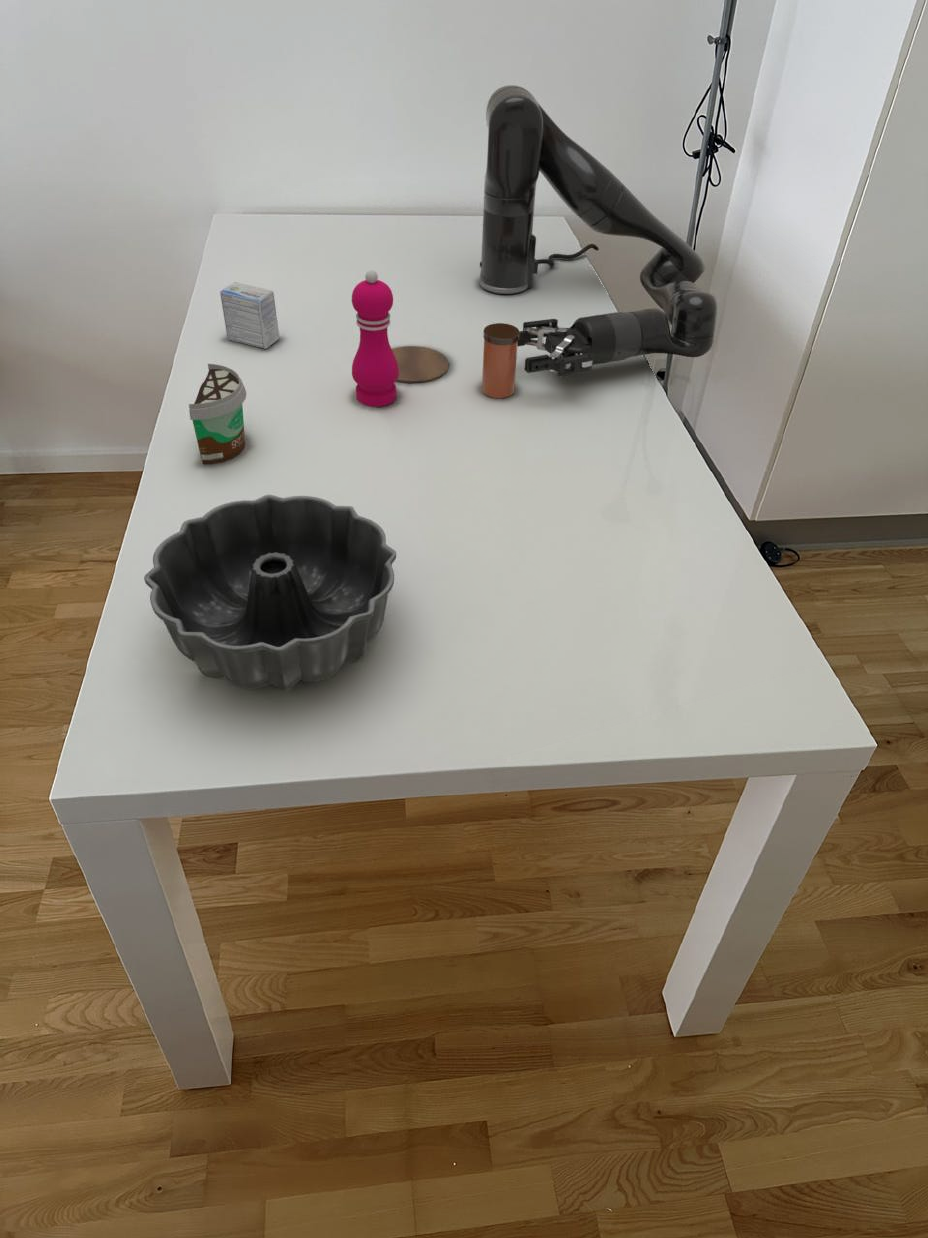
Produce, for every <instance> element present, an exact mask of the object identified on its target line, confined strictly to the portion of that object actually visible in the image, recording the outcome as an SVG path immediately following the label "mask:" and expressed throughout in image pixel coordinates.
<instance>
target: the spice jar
mask: <svg viewBox="0 0 928 1238" xmlns="http://www.w3.org/2000/svg"><path fill="white" fill-rule="evenodd" d="M519 331H520V330H519V328H518V327H516V326H515V325H513V324H509V323H502V322H497V323H491V324H488V325H486V326H485V327H484V329H483V333H482V337H483V353H482V355H483V356H482V372H481V373H482V375H481V392H482V393H483V395H485V396H487V397H489V398H493V399H506V398H509V397H511V396H513V394H514V393H515V388H516V387H515V385H516V373H517V372H516V371H517V361H518V347H519V346H518V340H519V333H520V332H519ZM517 346H518V347H517Z"/></svg>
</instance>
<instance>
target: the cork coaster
mask: <svg viewBox="0 0 928 1238" xmlns="http://www.w3.org/2000/svg"><path fill="white" fill-rule="evenodd" d="M391 349H392V351H393V353H394V355H395V357H396V360H397V363H398V368H399V376H398V379H397V380H396V382H399V383H403V384H404V383H406V384H420V383H428V382H431V381H434V380H438V379H440V378H442V377H443V376H444V375H445V374H446V373H447V372H448V370H449V368H450V362H449V359H448V358H447V356H445V354H443V353H442V352H440V351H437V350H435V349H433V348H430V347H424V346H415V345H409V346H408V345H407V346H399V347H394V348H391Z"/></svg>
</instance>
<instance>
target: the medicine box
mask: <svg viewBox="0 0 928 1238" xmlns="http://www.w3.org/2000/svg"><path fill="white" fill-rule="evenodd" d="M274 292H275V291H273V290H270V289H267V288H263V287H259V286H254V285H249V284H246V283H241V282H236V281H235V282H233V283H231V284H229V285H227V286H226V287H224V288H223V289H222V290H220V292H219V294H220V299H221V300H220V301H221V309H222V313H223V321H224V326H225V333H226V338H227V340H229V341H233V342H237V343H242V344H245V345H249V346H253V347H257V348H261V349H265V350H267V349H268V348H270V347H271V346H272V345H273V344H275V343H276V342H277V341H279V340H280V330H279V323H278V316H277V308H276V299H275V293H274Z"/></svg>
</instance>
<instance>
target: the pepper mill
mask: <svg viewBox="0 0 928 1238" xmlns="http://www.w3.org/2000/svg"><path fill="white" fill-rule="evenodd" d="M378 278H379V275H378V274H377V272H376V271H375V270H372V269H371V270H368V271H366V273H365V279H363V280H362V281H360V282H358V283H357V284H356V285H355V287H354V288H353V290H352V294H351V304H352V307H353V309H354V311H355V312H356V315H355V318H356V321H355V323H356V325H357V327H358V328H359V343H358V348H357V351H356V352H355V355H354V358H353V360H352V363H351V364H352V365H351V377H352V379H353V381H354V382H355V383H356V386H355V397H356V400H357V401H358V403H360V404H362V405H363V406H367V407H371V408H378V407H379V408H380V407H381V408H382V407H387V406H389V405H390V404H393V402H395V401H396V399H397V386H396V382H397V381H396V380H397V379H398V376H399V368H398V363H397V360H396V357H395V355H394V353H393V351H392V349H393V348H392V346H391V344H390V341H389V334H388V327H389V326H390V325H391V313H390V311H391V310H392V308H393V306H394V295H393V291H392V289H391V287H390V286H389V285H388V284H387V283H385V282H384V281H382V280H381V279H378Z"/></svg>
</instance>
